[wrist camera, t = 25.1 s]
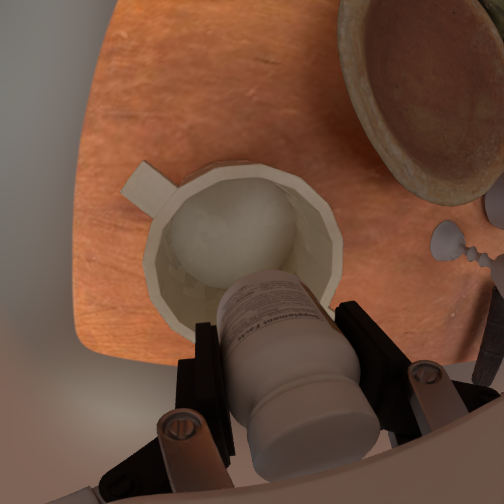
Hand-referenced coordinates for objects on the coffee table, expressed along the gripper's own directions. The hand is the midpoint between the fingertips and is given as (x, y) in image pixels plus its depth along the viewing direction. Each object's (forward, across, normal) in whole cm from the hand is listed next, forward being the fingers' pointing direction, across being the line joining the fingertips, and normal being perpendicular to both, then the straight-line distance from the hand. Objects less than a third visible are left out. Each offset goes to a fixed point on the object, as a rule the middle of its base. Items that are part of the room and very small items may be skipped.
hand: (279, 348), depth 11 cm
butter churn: (+15, -37, +11) cm, 42 cm away
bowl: (+18, -19, -14) cm, 30 cm away
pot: (+18, 0, 0) cm, 18 cm away
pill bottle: (+3, 0, 0) cm, 3 cm away
